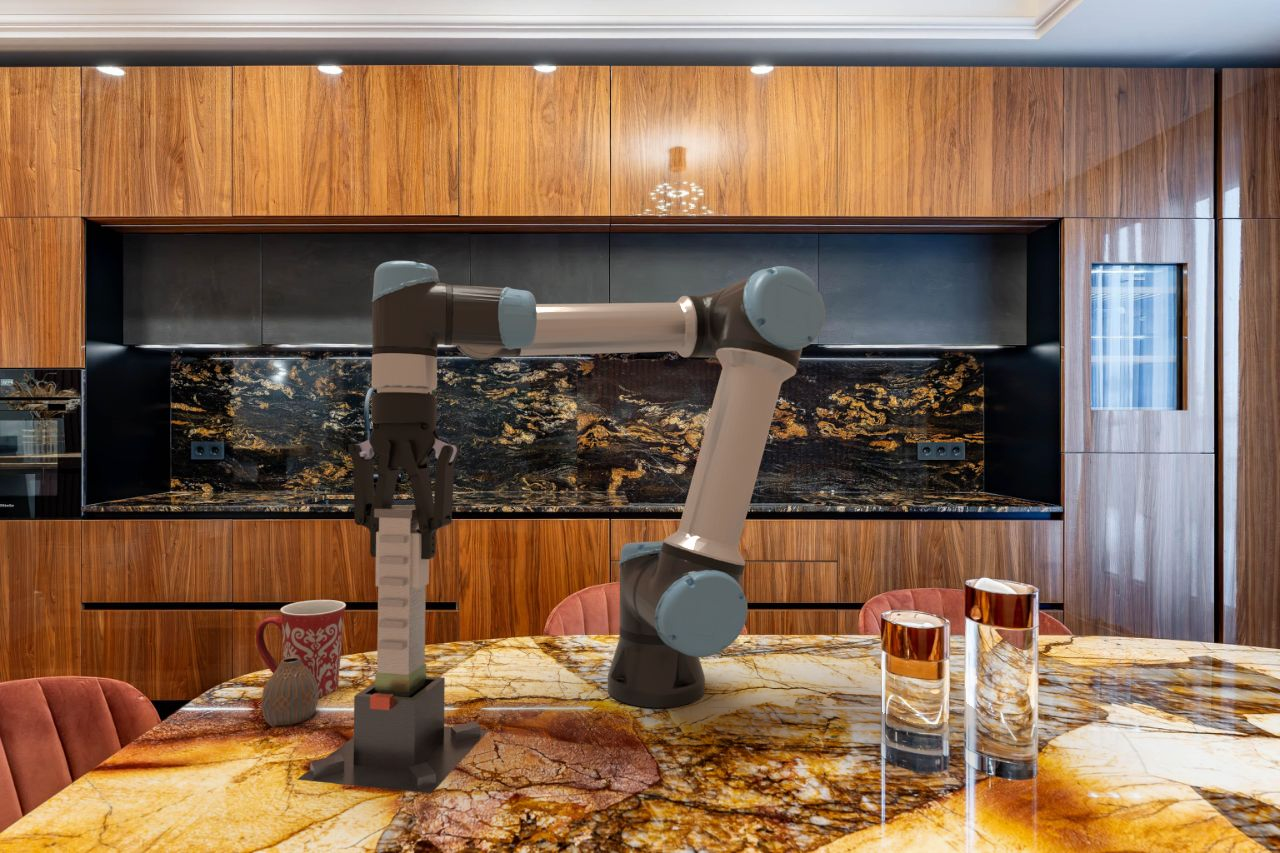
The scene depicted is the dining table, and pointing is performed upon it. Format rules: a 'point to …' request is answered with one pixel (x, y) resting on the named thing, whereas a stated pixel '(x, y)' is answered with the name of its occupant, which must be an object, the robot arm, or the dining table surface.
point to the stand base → (398, 742)
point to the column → (399, 605)
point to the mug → (309, 639)
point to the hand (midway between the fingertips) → (402, 584)
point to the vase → (289, 694)
